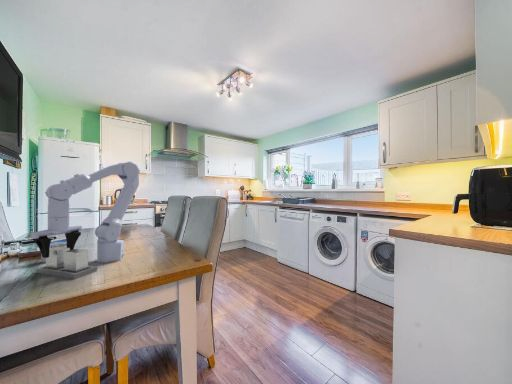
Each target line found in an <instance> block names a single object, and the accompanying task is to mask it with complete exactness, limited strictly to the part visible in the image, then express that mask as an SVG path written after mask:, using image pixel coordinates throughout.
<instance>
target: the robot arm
mask: <svg viewBox="0 0 512 384" xmlns="http://www.w3.org/2000/svg"><path fill="white" fill-rule="evenodd" d="M140 172H141V170H140V168H139V166H138V165H137V164H136V162H134V161H127V162H119V163H116V164H112V165H109V166H106V167H103V168H102V169H99V170H97V171H95V172H92V173H90V174H88V175H87V174H84V173H81V174H79V173H76V174H74V175H73V177H71V178H69V179H66V180H63V179H62V180H60V181H59V183H56V184H55V183H54V184H52V185H50V186H48V187H47V188H46V191H45V196H46V197H47V198H48V199H47V200H48V201H47V202H48V203H47V229H44V230H38V231H34V232H30V239H32V240H33V242H34V243H35V244H36V246H37V247H38V248H39V251H40V255H41V254H42V257H43V258H48V257H49V248H50V243H51V240H53V239H52V238H51V236H56V235H64V236H65V238H66V240H67V247H68V248H70V250H73V249H75V246H76V243H77V241H78V239H79V238H80V237H81V235H82V230H83V226H82V225H75V226H70V198H71V197H72V196H73V195H75V194H77V193H80V192H82V191H84V190H87V189H89V188H91V187H92V185H93V183H94V182H97V181H100V180H103V179H104V178H105V179H106V178H107V177H110V176H118V178H119V179H120V180H121V181H122V183H123V184H124V185H123V187H122V189H121V191H120V192H119V194H118V197H117V198H116V200H115V202H114V204H113V206H112V207H111V209H110V212H109V214H108V216H107V217H106V218H104V219H103V220H102V222H101V224H99V225H98V226H97V227H96V228H95V231H94V234H95V236H96V237H97V238H98V239H97V243H96V246H97V247H96V254H97V255H96V262H97V263H107V262H108V263H109V262H116V261H121V260H123V258H124V257H125V241H124V239H119V237H120V236H121V232H122V231H121V230H122V227H123V223H122V220H123V218H124V216H125V214H126V212H127V211H128V208H129V206H130V204H131V203H132V202H131V201H132V200H133V198H134V196H135V194H136V192H137V189H138V187H139V186H140V180H139V179H140V177H139V175H140Z"/></svg>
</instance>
